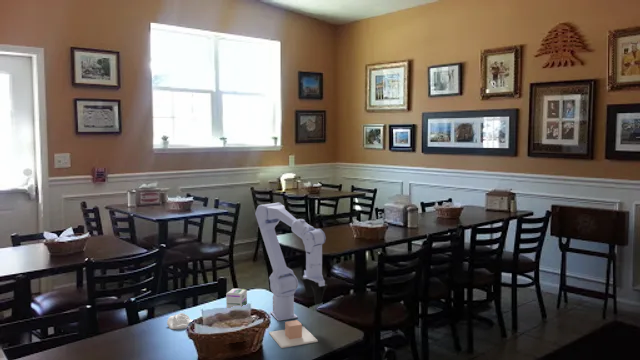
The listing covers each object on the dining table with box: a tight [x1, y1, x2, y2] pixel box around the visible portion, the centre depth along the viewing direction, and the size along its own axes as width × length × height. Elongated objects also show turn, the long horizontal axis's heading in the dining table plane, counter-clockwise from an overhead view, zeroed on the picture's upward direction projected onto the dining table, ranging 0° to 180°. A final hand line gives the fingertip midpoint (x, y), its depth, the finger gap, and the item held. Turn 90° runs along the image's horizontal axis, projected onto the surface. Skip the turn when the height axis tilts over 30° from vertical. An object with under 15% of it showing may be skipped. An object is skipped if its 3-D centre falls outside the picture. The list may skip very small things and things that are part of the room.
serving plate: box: [268, 325, 319, 349], centre depth 176 cm, size 13×13×1 cm
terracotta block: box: [284, 319, 303, 339], centre depth 176 cm, size 4×4×4 cm
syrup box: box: [225, 288, 248, 309], centre depth 181 cm, size 6×6×14 cm
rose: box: [166, 312, 194, 330], centre depth 187 cm, size 10×4×10 cm
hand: (314, 300), depth 183 cm, fingers open, 7 cm apart
